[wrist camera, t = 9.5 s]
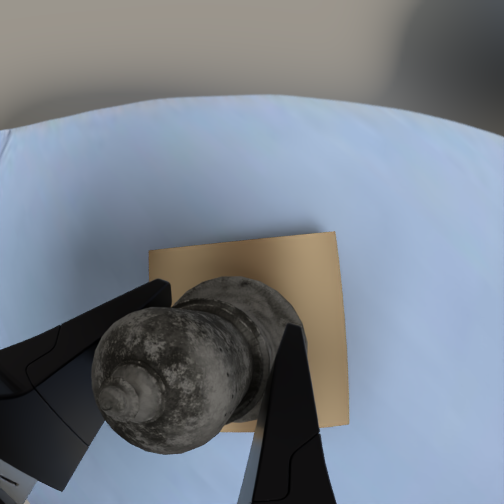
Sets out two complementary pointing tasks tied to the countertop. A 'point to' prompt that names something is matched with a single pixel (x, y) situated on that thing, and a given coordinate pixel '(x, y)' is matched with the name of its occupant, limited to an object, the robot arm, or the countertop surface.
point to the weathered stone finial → (190, 364)
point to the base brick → (292, 289)
